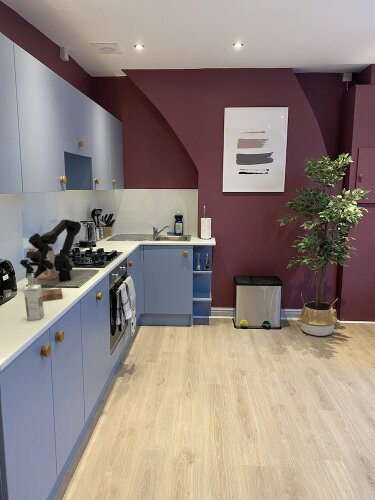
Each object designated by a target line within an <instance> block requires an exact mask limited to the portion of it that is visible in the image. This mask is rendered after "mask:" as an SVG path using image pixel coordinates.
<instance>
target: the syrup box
mask: <svg viewBox="0 0 375 500" xmlns="http://www.w3.org/2000/svg"><path fill="white" fill-rule="evenodd" d="M42 291H43V290H42V285H41V284H38V285H27V286H26V287H24V288H23V295H24V303H25V310H26V311H25V312H26V318H27V321H37V320H39V321H40V320H42V318H43V317H44V316H45V312H44V302H43V300H42Z"/></svg>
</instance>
